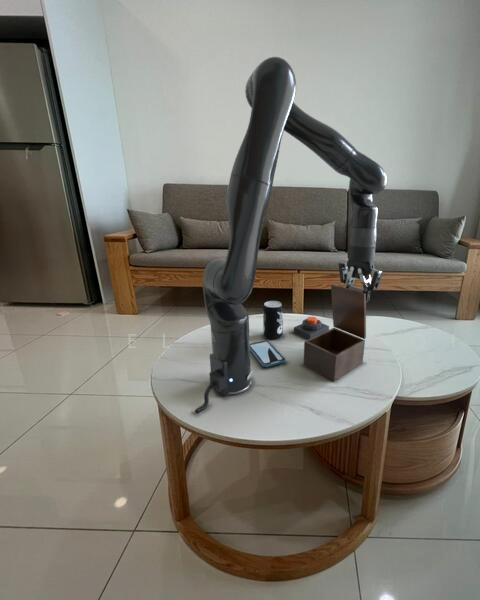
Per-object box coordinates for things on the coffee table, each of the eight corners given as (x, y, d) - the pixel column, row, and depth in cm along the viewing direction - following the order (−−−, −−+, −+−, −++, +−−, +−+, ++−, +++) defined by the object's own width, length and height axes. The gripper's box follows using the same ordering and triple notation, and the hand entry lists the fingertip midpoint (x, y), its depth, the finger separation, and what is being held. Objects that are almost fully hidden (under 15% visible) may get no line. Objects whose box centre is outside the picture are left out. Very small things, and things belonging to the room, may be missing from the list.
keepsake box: (334, 381, 87) (336, 356, 84) (303, 365, 94) (304, 341, 92) (362, 363, 96) (365, 340, 94) (332, 349, 104) (334, 327, 101)
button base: (310, 340, 109) (310, 329, 108) (293, 332, 114) (293, 322, 113) (328, 331, 116) (329, 321, 115) (312, 324, 121) (312, 314, 120)
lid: (364, 294, 86) (376, 287, 90) (330, 285, 94) (343, 278, 97) (364, 339, 93) (375, 330, 97) (333, 326, 101) (344, 318, 104)
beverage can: (273, 342, 107) (273, 309, 103) (259, 336, 111) (258, 304, 107) (286, 335, 112) (286, 303, 108) (272, 330, 116) (272, 299, 112)
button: (312, 326, 111) (312, 321, 111) (304, 322, 114) (304, 318, 113) (318, 323, 114) (319, 318, 113) (311, 320, 116) (311, 315, 116)
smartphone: (267, 339, 107) (286, 360, 95) (267, 342, 107) (286, 362, 95) (246, 344, 104) (263, 365, 91) (246, 346, 104) (263, 368, 92)
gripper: (333, 240, 92) (330, 296, 98) (377, 248, 82) (370, 310, 88) (349, 238, 97) (345, 291, 103) (391, 245, 88) (384, 303, 93)
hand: (356, 299), depth 95 cm, fingers closed on lid, 5 cm apart
